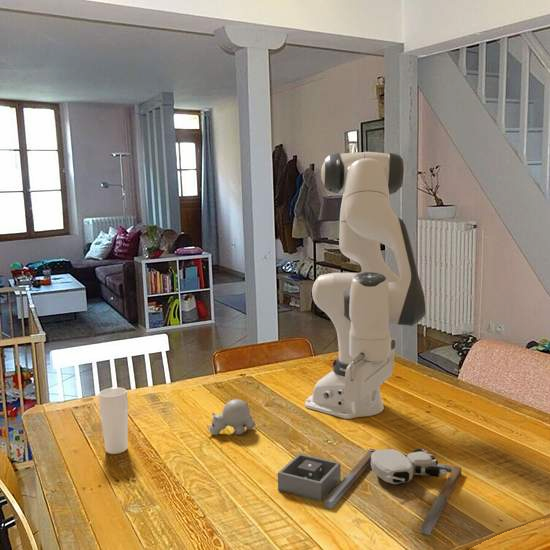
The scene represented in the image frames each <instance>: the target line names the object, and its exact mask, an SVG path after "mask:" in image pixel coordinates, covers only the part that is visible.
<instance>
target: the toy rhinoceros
mask: <svg viewBox="0 0 550 550" xmlns="http://www.w3.org/2000/svg"><path fill="white" fill-rule="evenodd" d="M211 414H212V419H211V424H210V425H209V424H206V429H207V430H208V431H209V432H210V433H211V434H212V435H213V436H218V435H219V434H220V433H221V431H222V430H225V429H226V428H227V427H228V426H229V427H231V428H233V430H234V434H235V435H236V436H240V435H243V434H244V433H245V431H246V430H252V429H254V428H255V426H256V422H255V420H254V419H253V417H252V415H251V409H250V407H249V404H248V403H247V402H245V401H244V400H242V399H239V398H234V399H231V400H229V401H227V403H225V404H224V406H223V409H222V413H218V414H216V413H215V412H212V413H211ZM245 428H246V429H245Z"/></svg>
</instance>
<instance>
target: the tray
mask: <svg viewBox="0 0 550 550" xmlns="http://www.w3.org/2000/svg"><path fill="white" fill-rule="evenodd" d="M305 460H310V461H314V462H318V463H322V464H323V478H322V479H321V480H320V481H315V480H311V479H307V478H303V477H299V476H297V467H298V466H299V465H300V464H302V463H303V462H304V461H305ZM341 479H342V478H341V462H339V461H333V460H329V459H326V458H325V459H324V458H320V457H316V456H313V455H312V456H311V455H308V454H302V453H298V454H297V455H296V456H295V457H294V458H293V459H291V461H289V462H288V463H287V464H285V466H284V467H282V469H280V470H279V471H278V472H277V490H278V491H279V492H283V493H286V494H289V493H290V495H293V494H294V495H293V496H297V495H298V496H297V497H302V498H305V499H309V500H312V501H313V500H314V501H316V502H320V503H321V502H323V500H325V499H326V498H327V497H328V495H329V494H330V493H331V492H332V491H333V490H334V489H335V488H336V487H337V485H338V484H339V483H340V482H341V481H342V480H341ZM337 483H338V484H337ZM336 484H337V485H336ZM328 493H329V494H328ZM327 494H328V495H327Z"/></svg>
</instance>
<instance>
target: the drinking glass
mask: <svg viewBox="0 0 550 550" xmlns="http://www.w3.org/2000/svg"><path fill="white" fill-rule="evenodd" d="M128 401H129V399H128V391H127V389H126V388H123V387H109V388H104V389H103V390H100V391H99V392H98V407H99V408H98V409H99V410H98V411H99V416H100V422H101V427H102V433H103V434H102V435H103V439H104V449H105V452H106V453H108V454H109V455H118V454H122V453H123V452H125V451H127V450H128V448H129V447H128V446H129V445H128V422H129V421H128V420H129V419H128V418H129V402H128Z"/></svg>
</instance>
